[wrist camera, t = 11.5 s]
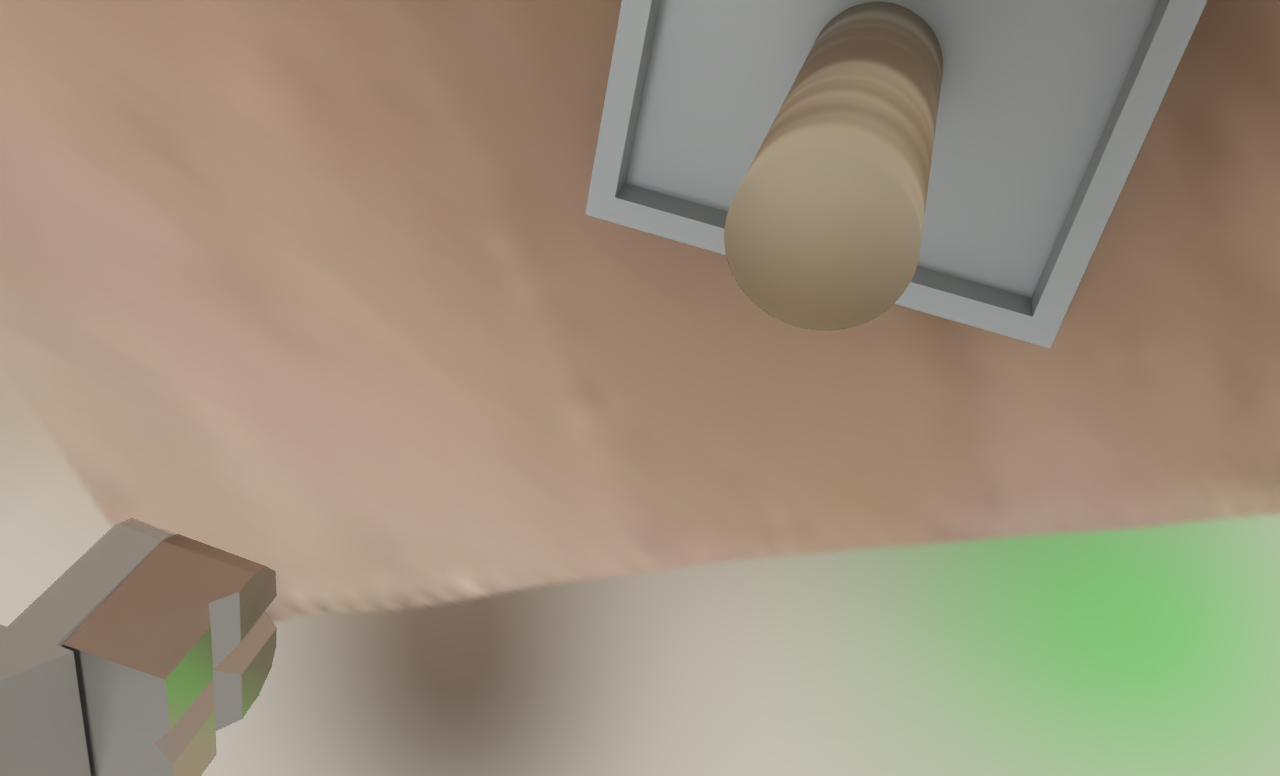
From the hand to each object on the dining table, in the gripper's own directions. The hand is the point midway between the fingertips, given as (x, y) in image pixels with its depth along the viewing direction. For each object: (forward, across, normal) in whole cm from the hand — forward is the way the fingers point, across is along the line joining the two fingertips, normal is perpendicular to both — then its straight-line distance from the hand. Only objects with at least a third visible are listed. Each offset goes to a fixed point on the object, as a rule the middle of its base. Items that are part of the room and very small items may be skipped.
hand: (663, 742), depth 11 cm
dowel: (+24, 0, 0) cm, 24 cm away
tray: (+25, 0, 0) cm, 25 cm away
